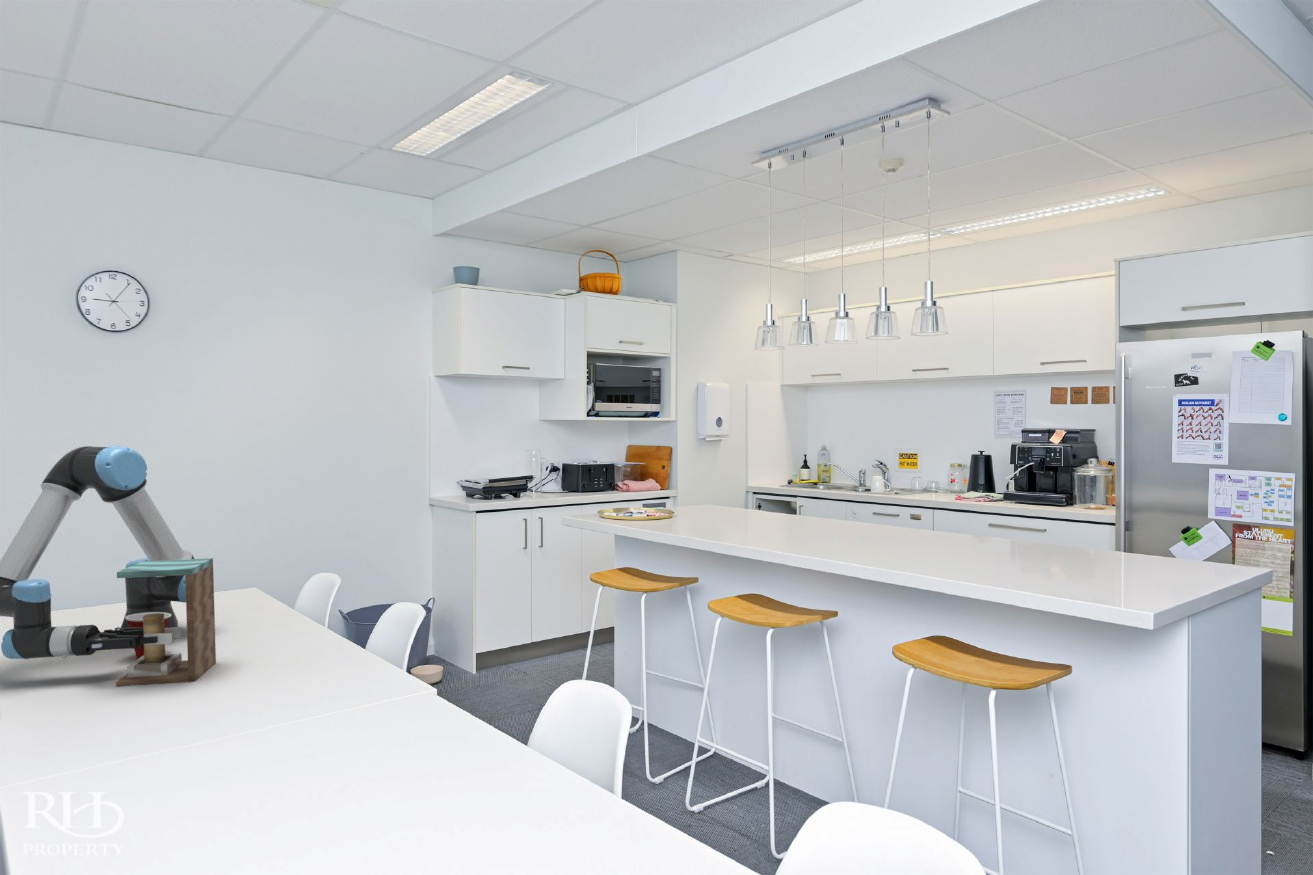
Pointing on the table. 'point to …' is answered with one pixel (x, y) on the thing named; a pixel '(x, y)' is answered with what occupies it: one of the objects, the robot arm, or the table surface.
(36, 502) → the robot arm
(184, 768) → the table surface
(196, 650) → the awning stand
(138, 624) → the plastic cup
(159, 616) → the peg
